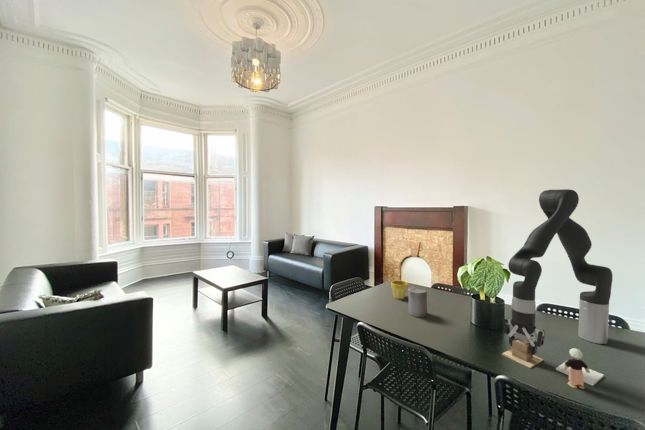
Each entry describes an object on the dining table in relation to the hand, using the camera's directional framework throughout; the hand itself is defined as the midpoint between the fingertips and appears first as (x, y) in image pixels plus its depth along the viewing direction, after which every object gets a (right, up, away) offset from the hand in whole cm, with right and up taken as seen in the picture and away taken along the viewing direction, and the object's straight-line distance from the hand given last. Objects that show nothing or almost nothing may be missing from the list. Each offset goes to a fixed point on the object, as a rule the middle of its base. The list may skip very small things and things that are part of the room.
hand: (522, 349), depth 107 cm
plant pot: (-29, 0, +68) cm, 74 cm away
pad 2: (+13, -3, -10) cm, 17 cm away
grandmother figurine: (+6, -4, -16) cm, 18 cm away
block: (0, -3, 0) cm, 3 cm away
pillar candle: (-27, -2, +43) cm, 50 cm away
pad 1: (0, -3, 0) cm, 3 cm away
